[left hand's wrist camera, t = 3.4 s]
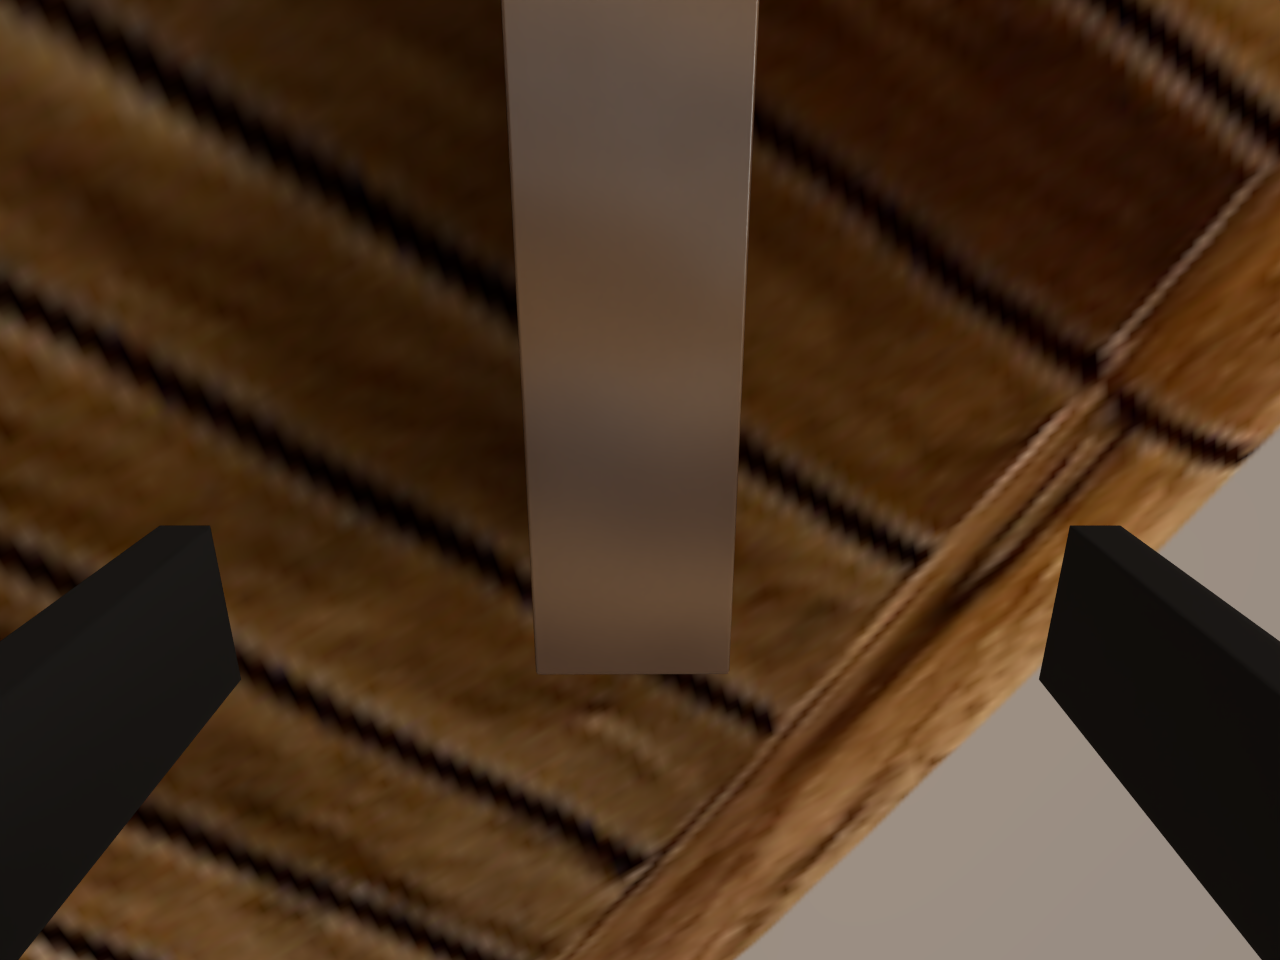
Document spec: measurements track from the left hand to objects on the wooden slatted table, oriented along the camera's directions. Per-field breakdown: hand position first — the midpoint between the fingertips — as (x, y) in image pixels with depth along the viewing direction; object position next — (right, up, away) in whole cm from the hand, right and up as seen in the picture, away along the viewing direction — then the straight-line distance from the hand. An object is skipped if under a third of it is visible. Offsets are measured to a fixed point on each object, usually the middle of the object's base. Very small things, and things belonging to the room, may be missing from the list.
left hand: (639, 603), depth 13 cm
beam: (0, +24, +7) cm, 25 cm away
